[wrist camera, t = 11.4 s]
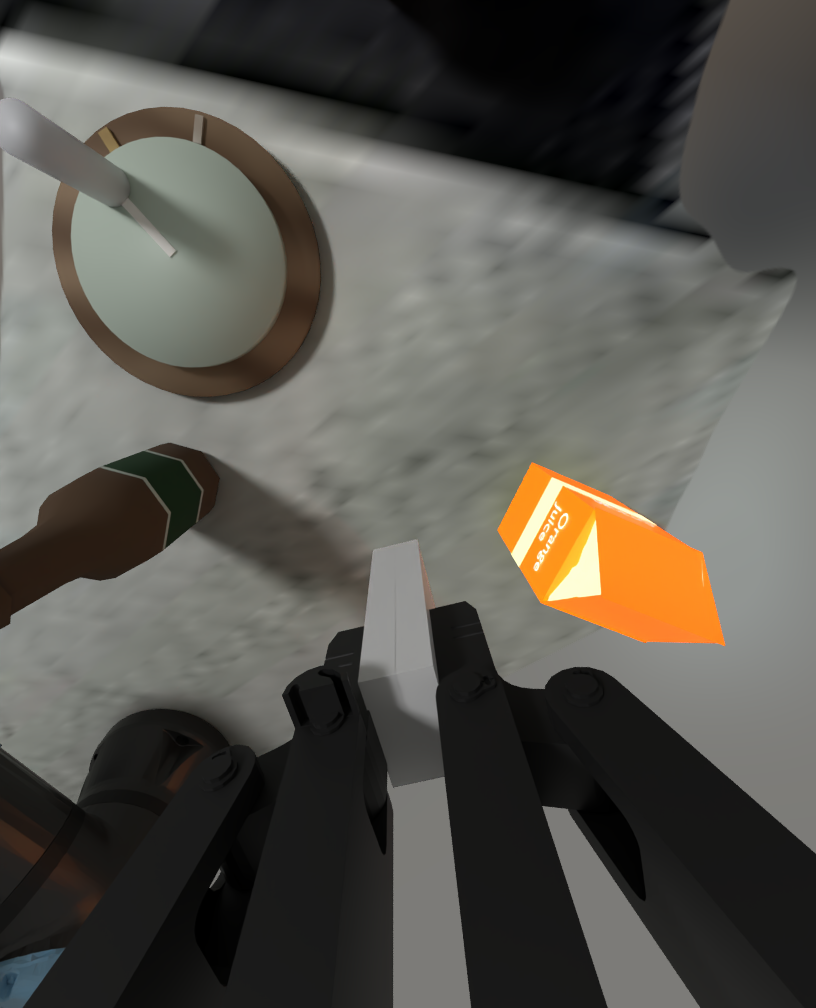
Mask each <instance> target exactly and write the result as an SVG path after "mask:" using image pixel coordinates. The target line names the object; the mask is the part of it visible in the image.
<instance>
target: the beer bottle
mask: <svg viewBox="0 0 816 1008" xmlns="http://www.w3.org/2000/svg"><path fill="white" fill-rule="evenodd" d="M219 479H220V478H219V477H218V475H217V474H216V472H215V471H214V469H213V468H212V467H211V465H210V464H209V462H208V461H207V459H206V458H205V456H204V455H203V453H202V452H201V451H197V450H194V449H190V448H187V447H183V446H179V445H176V444H172V443H166V444H162V445H159V446H156V447H153V448H150V449H148V450H145V451H142V452H140V453H137V454H134V455H131V456H129V457H126V458H123V459H121V460H118V461H115V462H112V463H110V464H107V465H104V466H102V467H99V468H97V469H95V470H93V471H91V472H89V473H87V474H85V475H83V476H82V477H80V478H78V479H76V480H75V481H73V482H71V483H70V484H68V485H66V486H64V487H63V488H61V489H59V490H57V491H56V492H54V493H52V494H51V495H49V496H48V497H47V499H46V500H45V501H44V503H43V504H42V505H41V507H40V509H39V516H38V522H37V526H35V527H34V528H33V529H31V530H30V531H29V532H28V533H26V534H25V535H24V536H23V537H21V538H19V539H18V540H16V541H14V542H12V543H10V544H9V545H7V546H5V547H3V548H2V549H0V629H2V628H3V627H5V626H7V625H9V624H10V617H11V615H12V614H14V613H16V612H17V611H19V610H21V609H23V608H24V607H26V606H28V605H29V604H31V603H33V602H35V601H36V600H38V599H40V598H42V597H43V596H45V595H47V594H48V593H50V592H52V591H54V590H55V589H57V588H59V587H60V586H62V585H64V584H66V583H68V582H70V581H73V580H75V579H78V578H80V577H82V578H88V579H93V580H99V581H101V580H106V579H111V578H116V577H118V576H120V575H121V574H123V573H125V572H127V571H129V570H131V569H132V568H134V567H136V566H138V565H140V564H142V563H143V562H145V561H147V560H149V559H150V558H152V557H154V556H155V555H157V554H158V553H160V552H161V551H163V550H164V549H165V548H167V547H168V546H169V545H170V544H171V543H173V542H174V541H175V540H176V539H177V538H179V537H180V536H181V535H182V534H183V533H185V532H186V531H187V530H188V529H189V528H191V527H192V526H193V525H194V524H196V523H197V522H198V521H199V520H200V519H202V518H203V517H204V516H205V515H206V514H208V513H209V512H210V511H211V510H212V508H213V507H214V505H215V500H216V495H217V489H218V484H219Z"/></svg>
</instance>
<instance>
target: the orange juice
mask: <svg viewBox="0 0 816 1008" xmlns="http://www.w3.org/2000/svg"><path fill="white" fill-rule="evenodd" d="M498 532H499V534H500V535H501V537H502V539H503V540H504V542H505V544H506V545H507V547H508V549H509V550H510V552H511V555H512V556H513V558H514V560H515V562H516V563H517V565H518V567H520V569H521V570H522V572H523V574H524V575H525V577H526V579H527V580H528V582H529V584H530V585H531V587H532V589H533V590H534V592H535V594H536V595H537V597H538V599H539V600H540V602H541V603H543V604H545V605H548V606H550V607H553V608H556V609H558V610H561V611H564V612H566V613H569V614H571V615H574V616H577V617H579V618H582V619H584V620H587V621H590V622H592V623H595V624H597V625H600V626H603V627H605V628H608V629H610V630H613V631H616V632H618V633H621V634H624V635H626V636H629V637H632V638H634V639H637V640H639V641H642V642H644V643H646V642H648V641H649V642H689V643H690V642H691V643H719V644H721V645H724V646H725V643H724V639H723V635H722V631H721V627H720V622H719V618H718V614H717V610H716V606H715V602H714V598H713V594H712V590H711V585H710V581H709V578H708V574H707V569H706V565H705V561H704V557H703V553H702V552H700V551H698V550H695V549H693V548H691V547H689V546H687V545H686V544H684V543H683V542H681V541H680V540H678V539H676V538H675V537H673V536H672V535H670V534H669V533H667V532H666V531H664V530H662V529H661V528H659V527H658V526H657V525H656V524H654V523H652V522H651V521H649V520H648V519H646V518H645V517H643V516H641V515H639V514H637V513H636V512H634V511H633V510H631V509H630V508H628V507H626V506H625V505H623V504H622V503H620V502H619V501H617V500H616V499H614V498H612V497H611V496H609V495H607V494H604V493H602V492H600V491H597V490H595V489H593V488H590V487H588V486H586V485H583V484H581V483H579V482H576V481H574V480H572V479H569V478H567V477H565V476H562V475H560V474H558V473H555V472H553V471H551V470H549V469H546V468H544V467H542V466H539V465H537V464H535V463H532V464H531V466H530V467H529V469H528V471H527V473H526V475H525V477H524V479H523V481H522V483H521V485H520V487H519V489H518V491H517V493H516V495H515V497H514V499H513V501H512V503H511V505H510V507H509V509H508V511H507V512H506V514H505V516H504V518H503V520H502V522H501V524H500V526H499V528H498Z"/></svg>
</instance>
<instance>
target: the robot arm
mask: <svg viewBox="0 0 816 1008" xmlns="http://www.w3.org/2000/svg"><path fill="white" fill-rule="evenodd" d="M282 697H283V699H284V702H285V704H286V707H287V709H288V712H289V714H290V717H291V719H292V722H293V724H294V727H295V732H294V735H293V739H292V740H290V741H289V742H287V743H285V744H284V745H282V746H280V747H278V748H276V749H274V750H272V751H270V752H268V753H266V754H264V755H261V756H259V757H256V755H255V753H254V752H253V751H252V750H251V748H250V747H249V746H243V745H234V746H229V744H228V743H227V741H226V740H225V738H224V737H223V736H222V735H221V734H220V733H219V732H218V731H217V730H216V729H215V728H214V727H212V726H211V725H209V724H208V723H206V722H205V721H203V720H201V719H199V718H197V717H195V716H193V715H190V714H187V713H183V712H179V711H174V710H165V709H155V710H146V711H141V712H138V713H135V714H132V715H130V716H127V717H126V718H124V719H122V720H121V721H119V722H118V723H117V724H115V725H114V726H113V727H112V728H111V730H110V731H109V732H108V733H107V735H106V736H105V737H104V739H103V740H102V741H101V743H100V744H99V745H98V747H97V749H96V750H95V752H94V754H93V757H92V760H91V763H90V767H89V773H88V775H87V777H86V779H85V782H84V784H83V787H82V790H81V793H80V796H79V799H78V802H77V804H75V803H73V802H72V801H71V800H70V799H69V798H67V797H66V796H65V795H63V794H62V793H61V792H59V791H58V790H57V789H55V788H54V787H53V786H51V785H50V784H49V783H47V782H46V781H45V780H43V779H42V778H41V777H39V776H38V775H37V774H35V773H34V772H33V771H31V770H30V769H29V768H27V767H26V766H25V765H23V764H22V763H21V762H19V761H18V760H17V759H15V758H14V757H13V756H11V755H10V754H9V753H7V752H6V751H5V750H3V749H2V748H1V746H2V745H1V744H0V1008H393V809H392V804H391V801H390V798H389V794H388V792H387V771H388V774H389V777H390V780H391V783H392V786H393V788H394V787H398V786H403V785H407V784H412V783H417V782H421V781H426V780H430V779H435V778H440V777H445V784H446V792H447V800H448V809H449V819H450V827H451V836H452V845H453V853H454V862H455V871H456V879H457V888H458V897H459V905H460V914H461V922H462V931H463V939H464V949H465V958H466V966H467V975H468V984H469V992H470V1001H471V1008H608V1007H607V1005H606V1001H605V998H604V995H603V992H602V989H601V986H600V983H599V980H598V977H597V974H596V971H595V967H594V964H593V961H592V958H591V955H590V952H589V949H588V946H587V943H586V940H585V937H584V934H583V930H582V928H581V924H580V922H579V918H578V915H577V912H576V909H575V906H574V903H573V900H572V897H571V894H570V890H569V887H568V884H567V881H566V878H565V875H564V872H563V869H562V866H561V863H560V860H559V857H558V854H557V851H556V847H555V844H554V841H553V839H552V835H551V832H550V829H549V826H548V823H547V820H546V817H545V814H544V811H543V807H542V806H548V807H557V808H566V809H568V811H569V813H570V815H571V816H572V818H573V820H574V821H575V823H576V824H577V826H578V827H579V829H580V830H581V831H582V833H583V835H584V836H585V837H586V839H587V840H588V842H589V843H590V845H591V846H592V848H593V849H594V851H595V852H596V854H597V855H598V857H599V858H600V860H601V861H602V862H603V864H604V866H605V867H606V869H607V870H608V872H609V873H610V874H611V876H612V877H613V879H614V880H615V882H616V883H617V885H618V886H619V888H620V889H621V891H622V892H623V894H624V895H625V897H626V898H627V900H628V901H629V903H630V904H631V906H632V907H633V908H634V910H635V911H636V913H637V915H638V916H639V917H640V919H641V920H642V922H643V923H644V925H645V926H646V928H647V929H648V931H649V932H650V934H651V935H652V937H653V938H654V940H655V941H656V943H657V944H658V946H659V947H660V949H661V950H662V952H663V953H664V955H665V956H666V957H667V959H668V960H669V962H670V963H671V965H672V966H673V968H674V969H675V971H676V972H677V974H678V975H679V976H680V978H681V980H682V981H683V982H684V984H685V986H686V987H687V989H688V990H689V992H690V993H691V994H692V996H693V997H694V999H695V1000H696V1002H697V1003H698V1005H699V1006H700V1008H816V854H815V853H814V852H813V851H812V850H811V849H810V848H809V847H807V846H806V845H805V844H804V843H803V842H802V841H801V840H799V839H798V838H797V837H796V836H795V835H794V834H792V833H791V832H790V831H789V830H788V829H787V828H786V827H784V826H783V825H782V824H781V823H780V822H779V821H778V820H776V819H775V818H774V817H773V816H772V815H771V814H770V813H768V812H767V811H766V810H765V809H764V808H763V807H761V806H760V805H759V804H758V803H757V802H756V801H755V800H754V799H752V798H751V797H750V796H749V795H748V794H747V793H746V792H744V791H743V790H742V789H741V788H740V787H739V786H738V785H736V784H735V783H734V782H733V781H732V780H731V779H729V778H728V777H727V776H726V775H725V774H724V773H723V772H721V771H720V770H719V769H718V768H717V767H716V766H714V765H713V764H712V763H711V762H710V761H709V760H708V759H707V758H705V757H704V756H703V755H702V754H701V753H700V752H698V751H697V750H696V749H695V748H694V747H693V746H692V745H690V744H689V743H688V742H687V741H686V740H685V739H684V738H682V737H681V736H680V735H679V734H678V733H677V732H676V731H675V730H673V729H672V728H671V727H670V726H669V725H668V724H666V723H665V722H664V721H663V720H662V719H661V718H660V717H658V716H657V715H656V714H655V713H654V712H653V711H652V710H650V709H649V708H648V707H647V706H646V705H645V704H643V703H642V702H641V701H640V700H639V699H638V698H637V697H635V696H634V695H633V694H632V693H631V692H630V691H629V690H628V689H626V688H625V687H624V686H623V685H622V684H621V683H619V682H618V681H617V680H616V679H615V678H613V677H612V676H610V675H609V674H607V673H605V672H604V671H601V670H597V669H593V668H590V667H573V668H570V669H566V670H562V671H560V672H558V673H557V674H555V675H554V676H552V677H551V678H550V680H549V681H548V683H547V684H546V685H545V689H529V688H521V687H517V686H514V685H511V684H510V683H508V682H506V681H504V680H503V679H502V678H501V677H500V676H499V675H498V673H497V671H496V669H495V666H494V663H493V660H492V657H491V654H490V651H489V648H488V645H487V642H486V638H485V635H484V633H483V629H482V626H481V623H480V620H479V617H478V614H477V611H476V609H475V608H474V607H472V606H471V605H470V604H468V603H467V602H466V601H464V602H459V603H455V604H451V605H447V606H442V607H438V608H435V605H434V601H433V597H432V593H431V589H430V586H429V582H428V578H427V574H426V570H425V566H424V563H423V559H422V555H421V551H420V547H419V543H418V540H417V539H416V540H412V541H408V542H404V543H400V544H395V545H391V546H387V547H383V548H379V549H375V550H373V555H372V564H371V572H370V581H369V590H368V598H367V607H366V616H365V625H364V626H363V627H358V628H354V629H350V630H345V631H341V632H338V633H337V635H336V636H335V637H334V639H333V640H332V641H331V643H330V644H329V645H328V650H327V654H326V661H325V663H324V666H319V667H316V668H313V669H310V670H308V671H306V672H304V673H303V674H301V675H299V676H298V677H296V678H295V679H294V680H293V681H292V682H291V683H290V684H289V685H288V686H287V687H286V689H285V691H284V693H283V694H282ZM219 868H220V870H221V873H220V875H219V877H218V879H217V880H216V881H215V883H214V884H213V886H212V887H211V888H209V887H210V885H211V883H212V881H213V879H214V878H215V875H216V874H217V872H218V870H219Z"/></svg>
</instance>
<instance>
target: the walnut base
mask: <svg viewBox="0 0 816 1008" xmlns="http://www.w3.org/2000/svg"><path fill="white" fill-rule="evenodd" d="M151 137H173V138H179V139H185V140H188V141H191V142H194V143H197V144H200V145H202V146H204V147H206V148H209V149H211V150H213V151H215V152H216V153H218V154H219V155H221V156H222V157H224V158H225V159H227V160H228V161H229V162H231V163H232V164H233V165H234V166H235V167H237V168H238V169H239V170H240V171H241V172H242V173H243V174H244V175H245V176H246V177H247V179H248V180H249V181H250V182H251V183H252V184H253V185H254V187H255V188H256V189H257V190H258V192H259V193H260V194H261V196H262V197H263V199H264V200H265V201H266V203H267V205H268V206H269V208H270V210H271V211H272V213H273V215H274V217H275V220H276V222H277V224H278V226H279V229H280V232H281V235H282V239H283V242H284V246H285V252H286V257H287V287H286V293H285V298H284V302H283V305H282V308H281V311H280V314H279V316H278V318H277V320H276V322H275V324H274V325H273V327H272V329H271V330H270V332H269V333H268V334H267V336H266V337H265V338H264V339H263V340H262V341H261V342H260V343H259V344H258V345H257V346H256V347H255V348H254V349H252V350H251V351H250V352H248V353H247V354H245V355H244V356H242V357H240V358H238V359H236V360H233V361H231V362H228V363H225V364H221V365H217V366H210V367H180V366H173V365H169V364H166V363H162V362H159V361H156V360H154V359H151V358H149V357H147V356H145V355H143V354H141V353H139V352H138V351H136V350H134V349H133V348H131V347H130V346H128V345H127V344H126V343H124V342H123V341H122V340H121V339H119V338H118V337H117V336H116V335H115V334H114V333H113V332H112V331H111V330H110V329H109V328H108V327H107V326H106V325H105V324H104V322H103V321H102V320H101V319H100V317H99V316H98V315H97V313H96V312H95V310H94V309H93V307H92V306H91V304H90V302H89V300H88V299H87V297H86V295H85V293H84V291H83V288H82V286H81V284H80V281H79V278H78V275H77V272H76V269H75V265H74V260H73V254H72V245H71V224H72V216H73V211H74V206H75V203H76V200H77V197H78V194H79V191H78V190H76V189H74V188H72V187H71V186H69V185H67V184H65V183H63V182H61V183H60V186H59V189H58V192H57V196H56V201H55V206H54V211H53V225H52V237H53V251H54V257H55V262H56V268H57V272H58V275H59V278H60V282H61V285H62V288H63V290H64V293H65V295H66V298H67V300H68V302H69V305H70V306H71V308H72V310H73V312H74V314H75V315H76V317H77V319H78V321H79V322H80V324H81V325H82V327H83V328H84V329H85V331H86V332H87V334H88V335H89V337H90V338H91V339H92V340H93V341H94V342H95V343H96V345H97V346H98V347H99V348H100V349H101V350H102V351H103V352H104V353H105V354H106V355H107V356H108V357H109V358H110V359H111V360H113V361H114V362H115V363H116V364H117V365H119V366H120V367H121V368H123V369H124V370H125V371H127V372H128V373H130V374H131V375H133V376H135V377H136V378H138V379H140V380H142V381H143V382H145V383H148V384H150V385H152V386H155V387H157V388H159V389H162V390H166V391H169V392H172V393H176V394H181V395H188V396H198V397H212V396H222V395H228V394H232V393H236V392H240V391H244V390H246V389H249V388H251V387H254V386H256V385H258V384H260V383H262V382H264V381H265V380H267V379H269V378H271V377H272V376H273V375H274V374H276V373H277V372H278V371H279V370H281V369H282V368H283V367H284V366H285V365H286V364H287V363H288V362H289V361H290V360H291V359H292V358H293V356H294V355H295V354H296V352H297V351H298V349H299V348H300V347H301V345H302V344H303V342H304V340H305V338H306V336H307V334H308V332H309V330H310V328H311V325H312V322H313V319H314V317H315V314H316V309H317V305H318V300H319V293H320V283H321V270H320V257H319V249H318V243H317V239H316V236H315V232H314V228H313V225H312V222H311V220H310V217H309V214H308V212H307V209H306V207H305V205H304V203H303V201H302V199H301V198H300V196H299V194H298V192H297V190H296V188H295V187H294V185H293V183H292V182H291V181H290V179H289V178H288V176H287V175H286V173H285V172H284V170H283V169H282V168H281V166H280V165H279V164H278V163H277V162H276V161H275V160H274V158H273V157H272V156H271V155H270V154H269V153H268V152H267V151H266V150H265V149H264V148H263V147H262V146H261V145H259V144H258V143H257V142H256V141H255V140H254V139H253V138H251V137H250V136H248V135H247V134H245V133H244V132H243V131H241V130H240V129H238V128H237V127H235V126H233V125H231V124H229V123H227V122H225V121H223V120H221V119H219V118H217V117H214V116H211V115H208V114H206V113H203V112H200V111H195V110H190V109H185V108H174V107H158V108H148V109H143V110H139V111H135V112H132V113H128V114H126V115H123V116H121V117H119V118H117V119H115V120H113V121H111V122H109V123H108V124H106V125H105V126H103V127H102V128H100V129H99V130H98V131H96V132H95V133H94V134H93V135H92V136H91V137H90V138H89V139H88V140H87V141H86V142H85V143H84V144H85V145H87V146H88V147H90V148H91V149H93V150H94V151H96V152H97V153H98V154H100V155H101V156H103V157H105V156H107V155H108V154H109V153H111V152H112V151H113V150H115V149H117V148H119V147H121V146H123V145H125V144H127V143H129V142H132V141H136V140H139V139H143V138H151Z"/></svg>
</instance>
